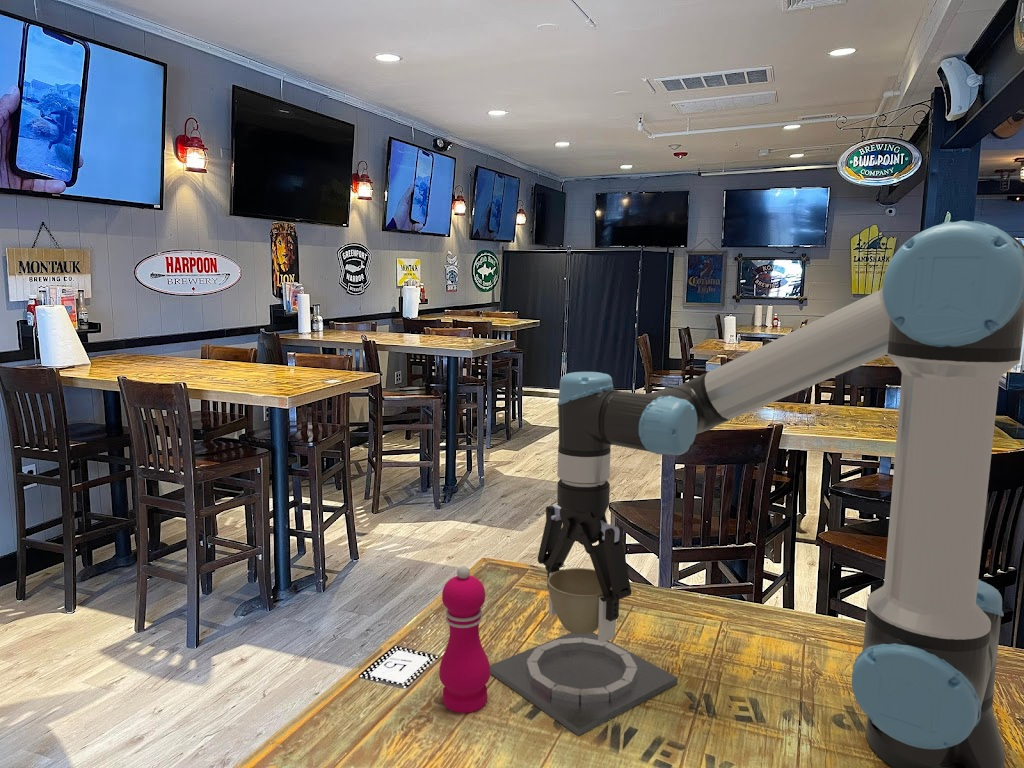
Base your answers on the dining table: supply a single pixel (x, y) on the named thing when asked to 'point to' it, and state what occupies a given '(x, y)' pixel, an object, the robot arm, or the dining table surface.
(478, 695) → the pepper mill
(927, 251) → the robot arm
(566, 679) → the ring plate
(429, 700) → the dining table surface
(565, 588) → the flower pot
